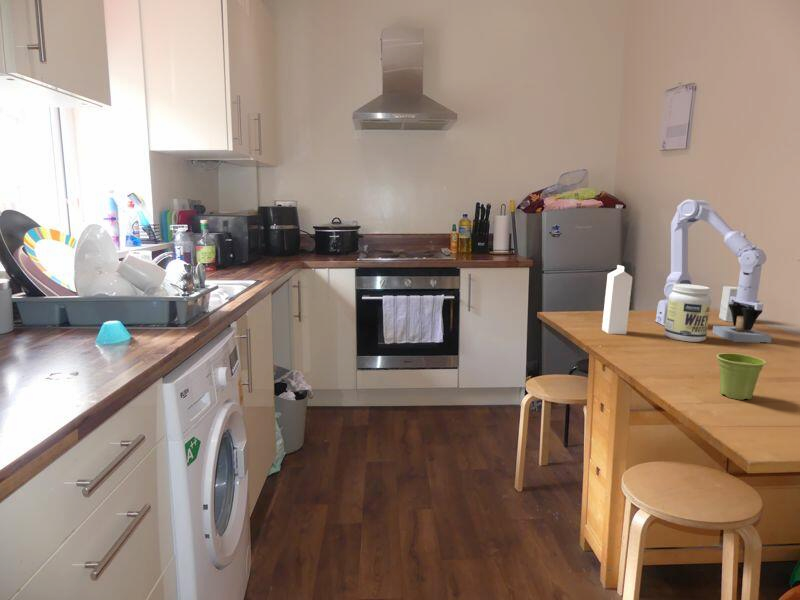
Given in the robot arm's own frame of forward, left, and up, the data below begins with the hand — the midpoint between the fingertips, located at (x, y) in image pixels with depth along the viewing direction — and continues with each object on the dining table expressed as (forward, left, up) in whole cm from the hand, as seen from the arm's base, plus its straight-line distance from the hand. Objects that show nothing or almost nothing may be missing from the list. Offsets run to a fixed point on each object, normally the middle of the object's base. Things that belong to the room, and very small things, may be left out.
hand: (742, 327), depth 185 cm
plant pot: (-37, -59, -4) cm, 70 cm away
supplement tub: (-20, -3, -4) cm, 21 cm away
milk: (-41, +2, -4) cm, 41 cm away
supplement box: (+15, +30, -4) cm, 34 cm away
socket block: (0, 0, -3) cm, 3 cm away
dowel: (0, 0, -3) cm, 3 cm away
